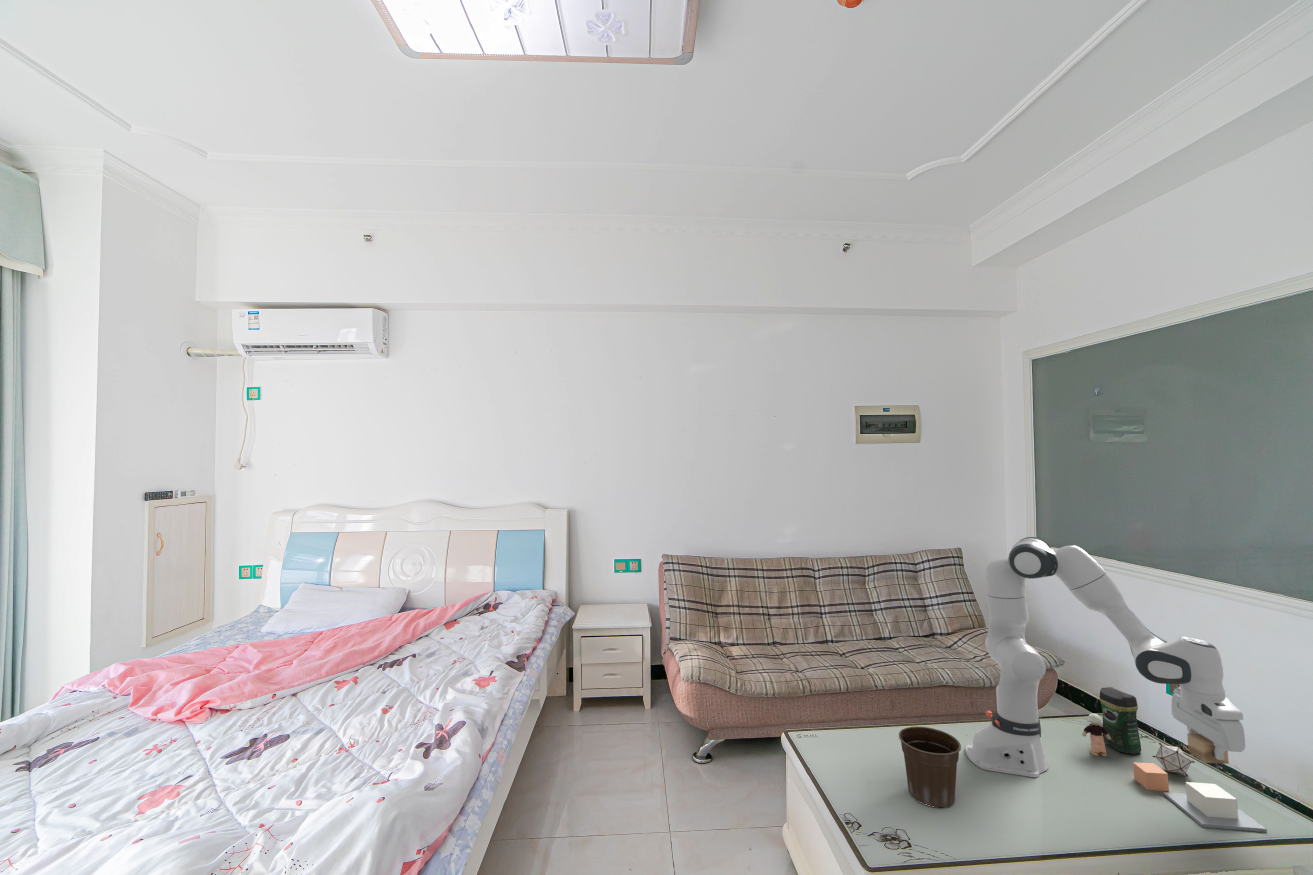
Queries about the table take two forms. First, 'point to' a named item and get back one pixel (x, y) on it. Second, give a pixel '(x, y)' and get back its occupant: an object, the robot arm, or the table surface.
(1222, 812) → the baseplate
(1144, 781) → the terracotta brick
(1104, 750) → the grandmother figurine
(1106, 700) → the coffee jar
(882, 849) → the table surface
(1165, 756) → the game die
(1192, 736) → the oak brick
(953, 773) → the plant pot
